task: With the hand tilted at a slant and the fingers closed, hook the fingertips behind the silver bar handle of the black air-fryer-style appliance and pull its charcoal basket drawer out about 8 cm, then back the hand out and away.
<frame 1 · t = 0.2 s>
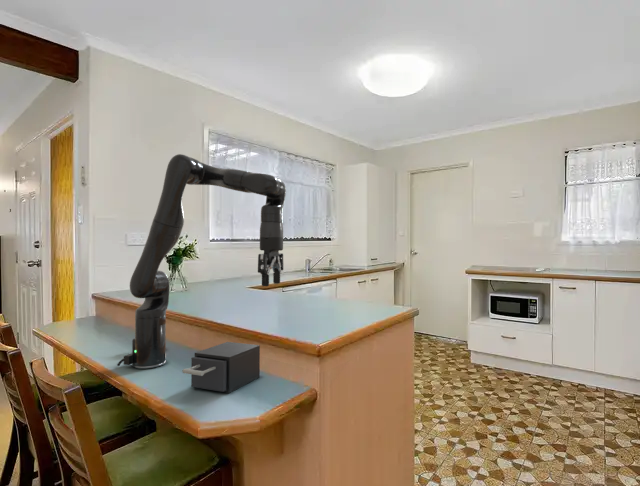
hand: (271, 284, 121), 29 cm above the worktop, tool pointing down, fingers open, 8 cm apart
basket: (216, 370, 107), point 5 cm above the worktop, slide at 0.5 cm
fryer: (228, 382, 112), on the worktop
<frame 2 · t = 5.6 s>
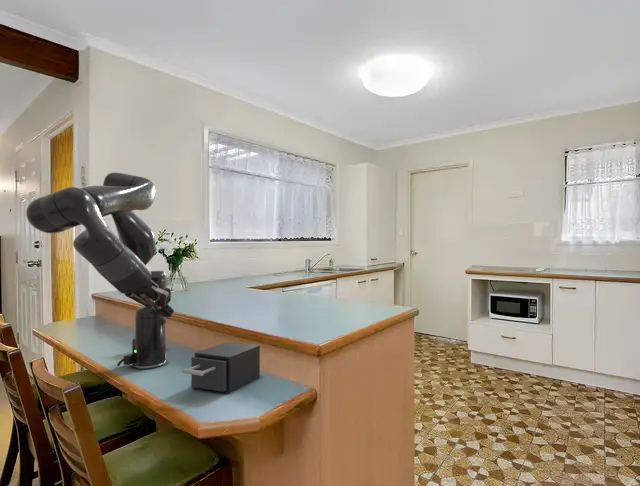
hand: (169, 314, 92), 25 cm above the worktop, tool tilted 45°, fingers closed
nothing on the worktop moved.
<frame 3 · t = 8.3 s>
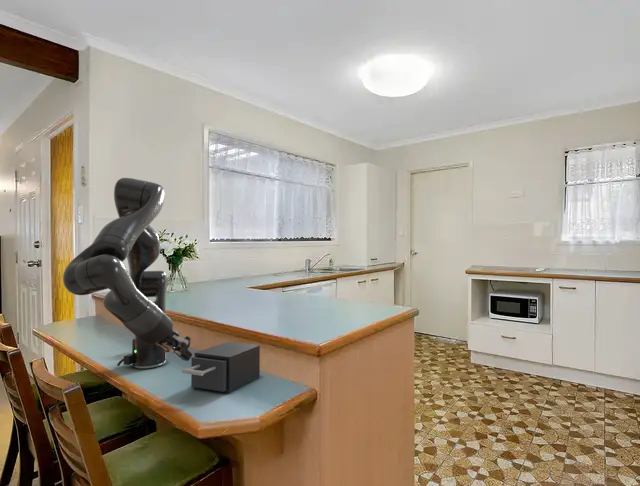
hand: (188, 357, 98), 12 cm above the worktop, tool tilted 45°, fingers closed
nothing on the worktop moved.
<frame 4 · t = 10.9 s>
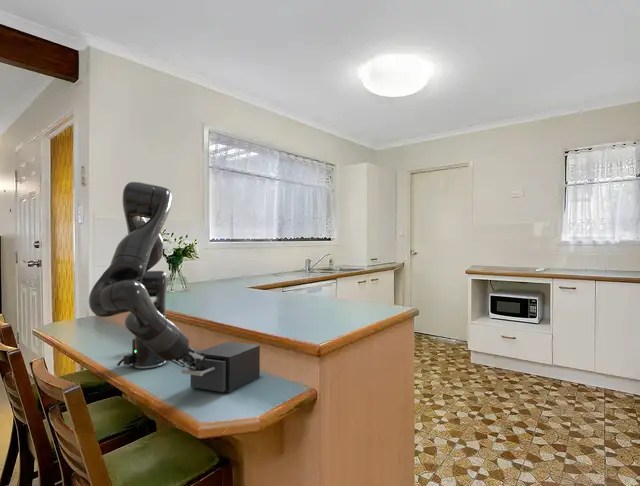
hand: (202, 372, 102), 7 cm above the worktop, tool tilted 45°, fingers closed
basket: (215, 371, 107), point 5 cm above the worktop, slide at 0.8 cm, touching gripper
everything else where it was.
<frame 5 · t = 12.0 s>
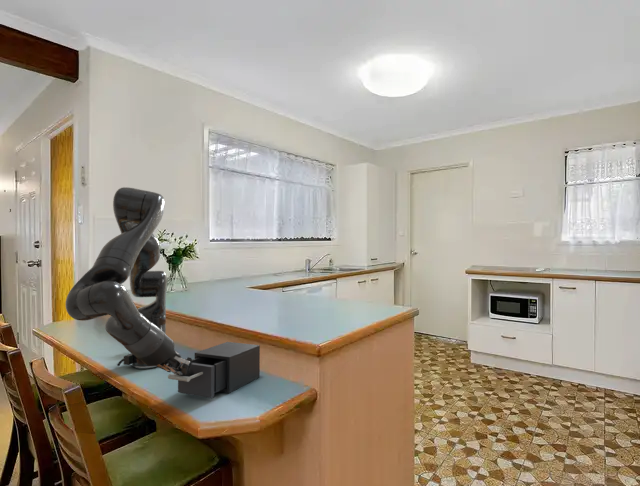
hand: (189, 377, 98), 7 cm above the worktop, tool tilted 45°, fingers closed
basket: (204, 375, 103), point 5 cm above the worktop, slide at 5.1 cm, touching gripper
everything else where it was.
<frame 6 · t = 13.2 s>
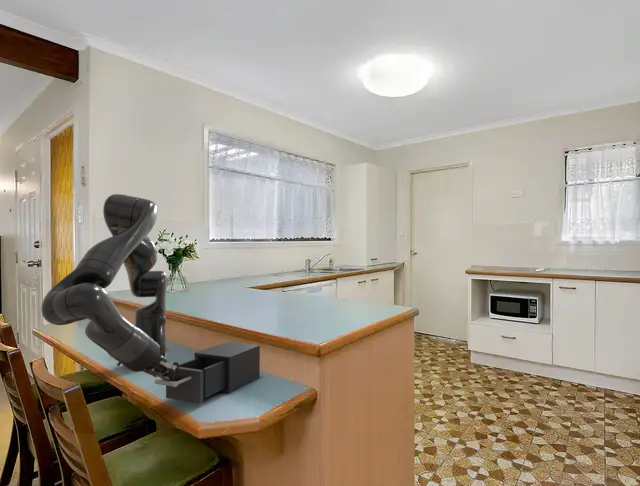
hand: (177, 381, 94), 7 cm above the worktop, tool tilted 45°, fingers closed
basket: (193, 380, 99), point 5 cm above the worktop, slide at 9.0 cm, touching gripper
everything else where it was.
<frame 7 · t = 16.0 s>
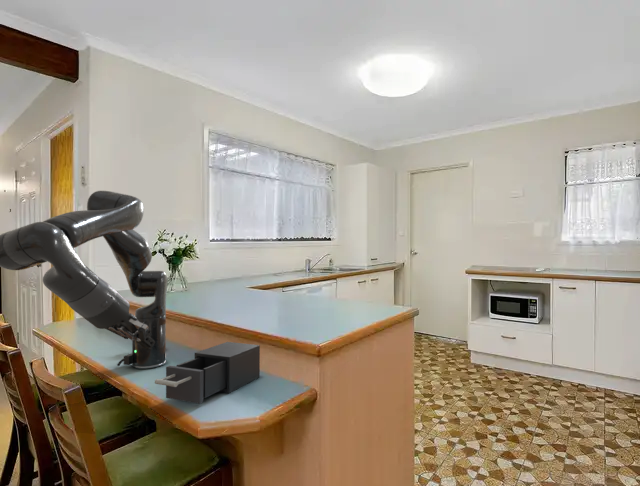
hand: (150, 345, 88), 18 cm above the worktop, tool tilted 45°, fingers closed
basket: (193, 380, 99), point 5 cm above the worktop, slide at 9.0 cm
everything else where it was.
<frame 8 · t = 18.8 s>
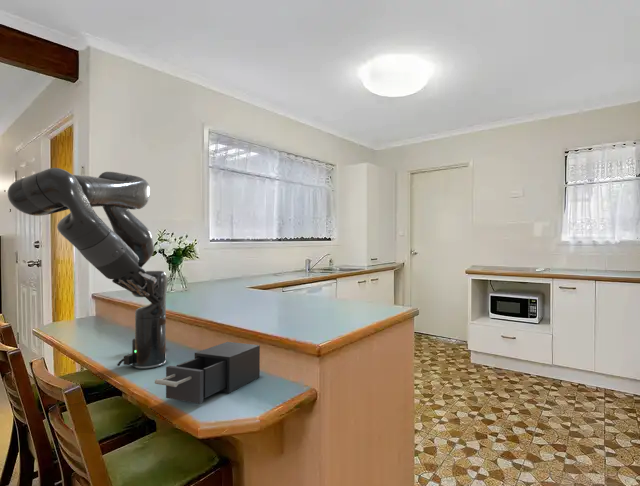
hand: (158, 301, 91), 28 cm above the worktop, tool tilted 45°, fingers closed
nothing on the worktop moved.
at the end: basket slide at 9.0 cm; the gripper is holding nothing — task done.
